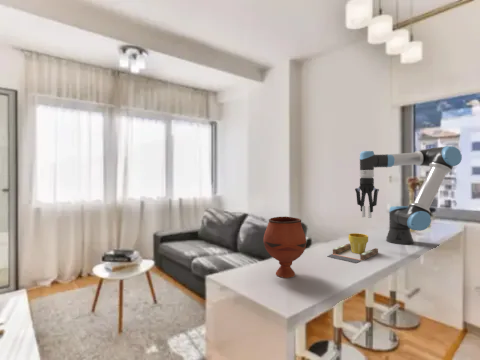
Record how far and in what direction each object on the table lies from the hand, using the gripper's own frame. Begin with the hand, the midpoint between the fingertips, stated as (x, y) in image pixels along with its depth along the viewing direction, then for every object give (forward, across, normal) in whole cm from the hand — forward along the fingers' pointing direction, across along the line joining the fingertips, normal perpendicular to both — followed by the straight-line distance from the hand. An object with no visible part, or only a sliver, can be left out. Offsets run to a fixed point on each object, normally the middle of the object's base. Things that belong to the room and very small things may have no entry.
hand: (366, 217), depth 172 cm
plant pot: (+19, 0, -11) cm, 22 cm away
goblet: (+19, -7, -68) cm, 71 cm away
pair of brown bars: (+19, 0, -14) cm, 24 cm away
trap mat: (+19, 0, -28) cm, 34 cm away
